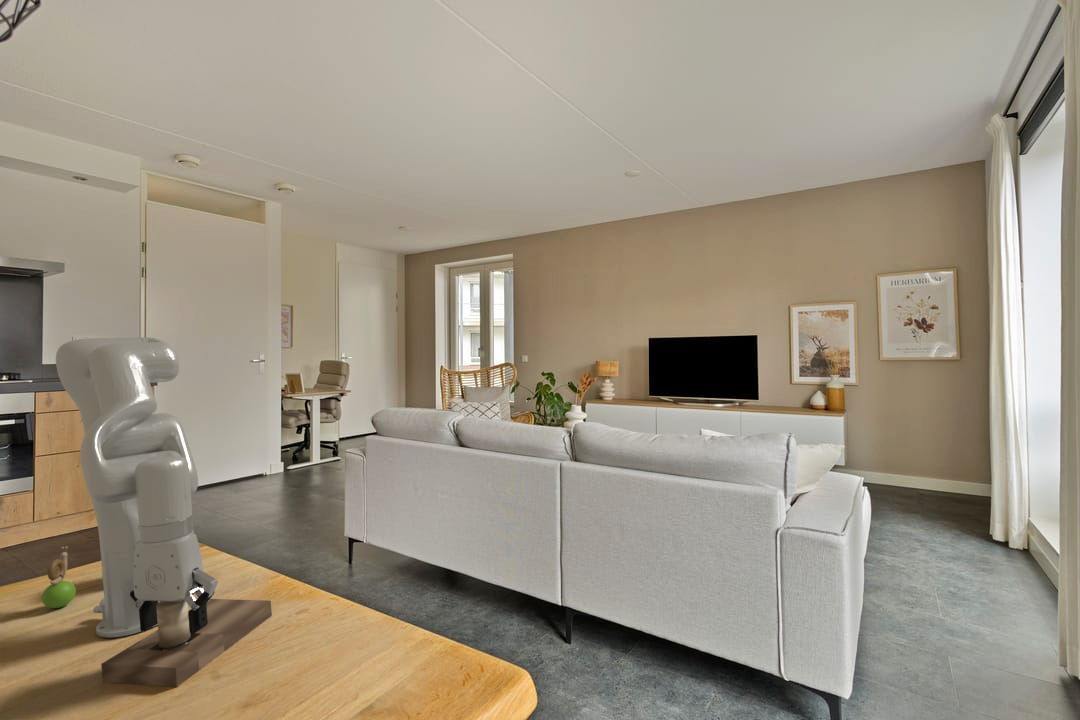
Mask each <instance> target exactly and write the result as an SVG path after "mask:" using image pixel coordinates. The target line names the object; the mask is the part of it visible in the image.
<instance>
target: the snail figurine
mask: <svg viewBox="0 0 1080 720" xmlns="http://www.w3.org/2000/svg"><path fill="white" fill-rule="evenodd" d="M68 548H69V547H68V546H61V548H60V550H62V552H61V553H60V554H59V558H60V559H59V558H56V559H53V560H52V561H51V562H50V563H49V566H48V567H47V574H46V575H47V578H48V579H49V580H50V585H49V586H47V587H46V589H45V590H44V591H43V593H42V596H41V601H42V603H43V605H44V606H46V607H47V608H49V609H59V608H63V607H65V606H67V605H69V604H70V603H71V602H72V601H73V600H74V598H75V596H76V593H77V589H76V586H75V585H74V584H73V583H72V582H70V581H67V580H64V578H65V576H66V575H67V571H68V556H69V554H68V550H67V549H68ZM64 549H65V551H64Z"/></svg>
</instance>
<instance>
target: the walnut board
mask: <svg viewBox="0 0 1080 720" xmlns="http://www.w3.org/2000/svg"><path fill="white" fill-rule="evenodd" d="M206 606H207V619H208V624H207V625H206V626H205V627H203V628H202V629H200V630H199V631H197V632H196V633H194V634H193V633H190V634H191V638H190V639H189V640H188V641H187V644H185V645H184V646H182V647H181V648H179V649H178V650H177V651H163V649H161V648H160V647H159V634H158V629H157V630H155V631H153V632H151V633H149V634H148V635H147V636H145V637H142V638H141V639H139V640H138V641H137V642H135V643H133V644H131V645H130V646H129V647H127V648H125V649H123V650H122V651H120V652H118V653H117V654H115V655H113V656H112V657H110V658H109V659H107V660H105V661H104V662H102V663H101V664H100V667H101V677H102V683H108V684H109V683H111V684H112V683H113V684H128V685H142V686H155V687H156V686H157V687H158V686H159V687H172V688H173V687H174V688H178V687H179V686H180V685H182V684H183V683H185V681H187V680H188V679H189V678H191V677H192V676H194V675H195V674H196V673H197V672H199V671H200V670H202V669H203V668H204V667H206V666H207V665H208V664H209V663H211V662H212V661H213V660H215V659H216V658H218V657H219V656H220V655H221V654H223V653H224V652H225V651H227V650H228V649H229V648H231V647H232V646H233V645H235V644H236V643H238V642H239V641H240V640H242V638H245V636H247V635H248V634H250V632H252V631H253V630H255V629H256V628H257V627H259V626H260V625H262V624H263V623H264V622H265V621H267V620H268V619H270V617H272V615H273V614H272V601H271V600H265V599H263V600H262V599H261V600H260V599H234V598H233V599H232V598H231V599H230V598H229V599H228V598H226V599H225V598H222V599H221V598H210V601H209V602H208V603H206Z"/></svg>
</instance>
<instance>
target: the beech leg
mask: <svg viewBox="0 0 1080 720" xmlns="http://www.w3.org/2000/svg"><path fill="white" fill-rule="evenodd" d="M156 609H157V621H158V625H157V630H158V634H159V647H160V648H161V649H163V651H177V650H178V649H179V648H181V647H182V646H184V645H185V644H187V641H188V640H189V639H190V638H191V634H190V631H189V618H188V611H189V605H188V604H187V602H186V601H185V600H184V599H183V600H181V601H177V602H167V601H160V602H159V603H158V604H157V605H156Z"/></svg>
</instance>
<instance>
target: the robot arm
mask: <svg viewBox="0 0 1080 720" xmlns="http://www.w3.org/2000/svg"><path fill="white" fill-rule="evenodd" d="M55 353H56V354H55V365H56V371H57V375H58V378H59V380H60V382H61V384H62V387H63V388H64V390H65V391H66V393H67V395H68V396H69V397H70V398H71V399H72V401H73V403H74V404H75V405H76V407H77V408H78V410H79V414H80V416H81V421H82V425H83V426H82V427H83V430H84V434H85V435H84V437H83V439H82V441H81V445H80V454H79V456H80V457H79V458H80V460H79V461H80V466H81V470H82V474H83V477H84V482H85V486H86V489H87V492H88V495H89V496H90V501H91V504H92V507H93V511H94V515H95V518H96V523H97V524H96V525H97V531H98V537H99V546H100V547H99V548H100V549H99V550H100V561H101V572H102V574H101V575H102V587H103V598H102V599H101V600H100V601H99V605H95V606H94V607H93V610H92V611H93V613H94V614H101V615H102V617H101V618H102V620H101V621H100V622H98V624H97V625H96V626H95V627H96V628H95V631H96V636H99V637H101V638H108V639H112V638H120V637H121V638H122V637H125V636H131V635H135V634H137V633H141V632H147V631H148V630H149V629H153V628H154V627H156V626H157V627H158V621H157V609H156V605H157V604H158V603H159V602H160V601H167V602H177V601H181V600H183V599H184V600H185V601H186V602H187V604H188V607H190V609H188V618H189V631H190V633H193V634H194V633H196V632H197V631H199V630H200V629H202V628H203V627H205V626H206V625H207V624H208V619H207V606H206V603H208V602H209V601H210V599H212V598H213V596H214V595H215V591H216V588H217V585H218V580H217V578H215V577H213V576H211V575H210V574H208V573H206V572H205V571H204V564H203V557H202V553H201V548H200V544H199V540H198V537H197V534H196V533H195V532H194V521H193V519H194V517H193V507H192V506H193V505H192V496H193V495H195V493H196V492H197V489H198V486H199V476H198V471H197V469H196V464H195V461H194V458H193V454H192V451H191V448H190V446H189V442H188V439H187V435H186V433H185V430H184V427H183V425H182V423H181V421H180V420H179V419H178V418H177V416H175V415H173V414H171V413H167V412H166V413H163V412H162V413H161V412H159V413H158V412H157V408H158V404H157V403H158V402H157V400H156V398H155V395H154V391H153V388H152V385H151V383H152V384H154V383H163V382H172V381H173V380H175V379H176V378H177V376H178V374H179V372H180V362H179V356H178V354H177V353H176V351H175V349H174V348H173V347H172V346H171V345H170V343H168V342H166V341H164V340H160V339H158V338H154V337H142V336H141V337H96V338H95V337H92V338H91V337H90V338H81V339H74V340H70V341H68V342H65V343H63V344H61V345H60V346H59V347H58V349H57V351H56V352H55ZM156 412H157V413H156ZM194 595H195V596H197V598H195V596H194Z"/></svg>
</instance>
